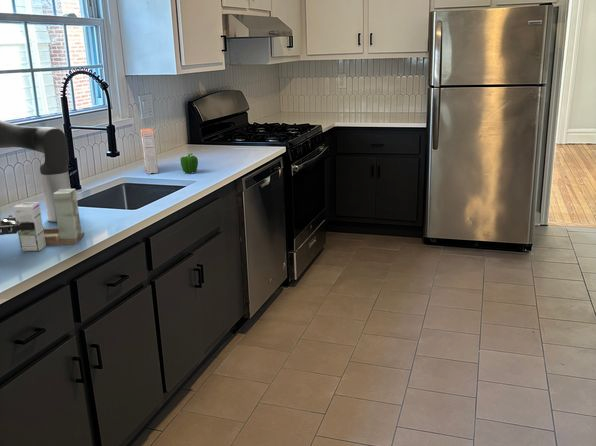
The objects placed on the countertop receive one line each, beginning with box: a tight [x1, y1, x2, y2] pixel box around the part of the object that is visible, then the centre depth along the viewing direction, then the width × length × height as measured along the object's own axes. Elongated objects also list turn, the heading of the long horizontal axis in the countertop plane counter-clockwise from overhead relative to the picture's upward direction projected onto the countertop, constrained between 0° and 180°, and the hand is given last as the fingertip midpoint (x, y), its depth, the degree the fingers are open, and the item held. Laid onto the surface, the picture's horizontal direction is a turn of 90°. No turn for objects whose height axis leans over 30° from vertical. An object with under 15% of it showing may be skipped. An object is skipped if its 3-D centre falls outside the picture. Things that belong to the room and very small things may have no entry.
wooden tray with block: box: [43, 188, 85, 246], centre depth 187 cm, size 9×14×16 cm, turn 93°
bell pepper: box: [179, 152, 199, 174], centre depth 285 cm, size 8×8×10 cm
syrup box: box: [13, 201, 47, 253], centre depth 179 cm, size 6×6×14 cm
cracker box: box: [140, 127, 159, 175], centre depth 289 cm, size 14×6×21 cm, turn 17°
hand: (37, 222), depth 179 cm, fingers closed on syrup box, 6 cm apart
